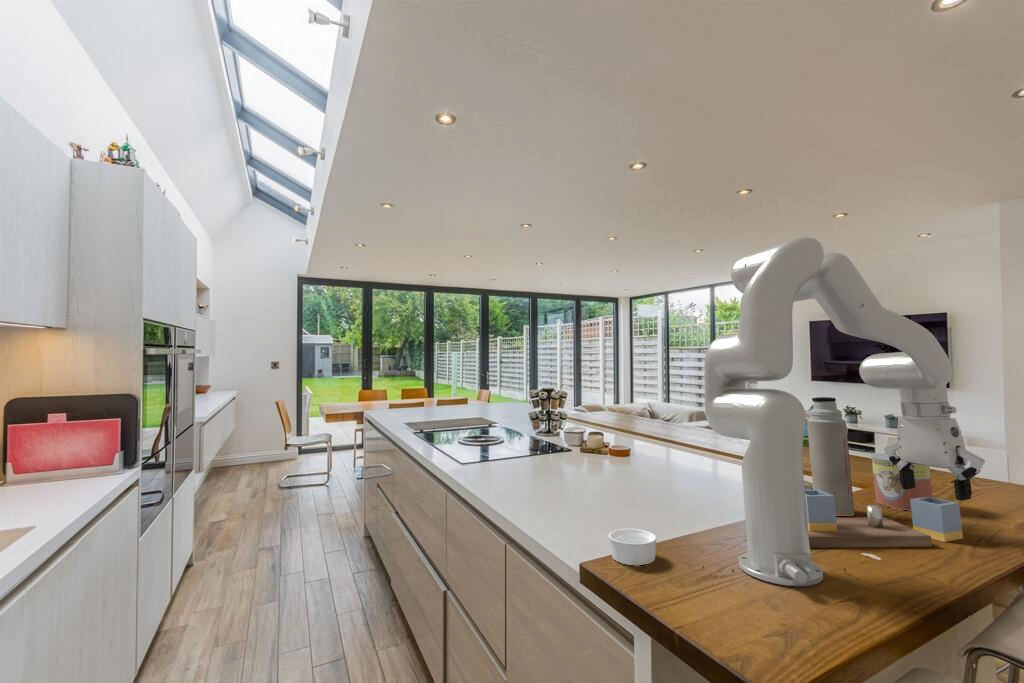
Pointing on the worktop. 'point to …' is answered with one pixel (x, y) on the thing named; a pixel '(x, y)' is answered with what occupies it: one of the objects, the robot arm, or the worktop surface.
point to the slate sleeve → (937, 518)
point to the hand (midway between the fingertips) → (934, 493)
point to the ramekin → (632, 546)
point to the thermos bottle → (830, 453)
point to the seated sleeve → (820, 511)
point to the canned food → (898, 483)
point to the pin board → (869, 533)
